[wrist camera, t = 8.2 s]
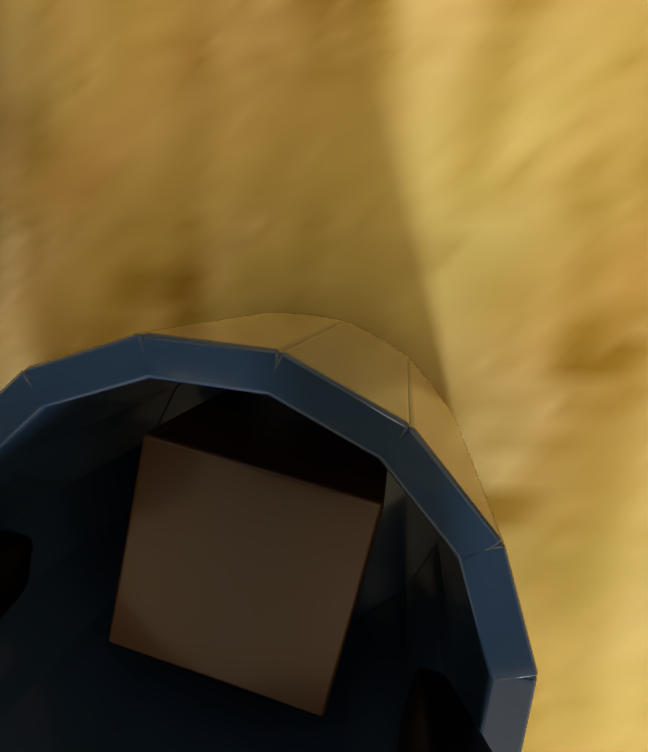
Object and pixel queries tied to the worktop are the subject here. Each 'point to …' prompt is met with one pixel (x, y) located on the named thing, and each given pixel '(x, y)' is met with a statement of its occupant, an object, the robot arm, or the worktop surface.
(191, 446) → the brown cube
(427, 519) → the cup
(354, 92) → the worktop surface
